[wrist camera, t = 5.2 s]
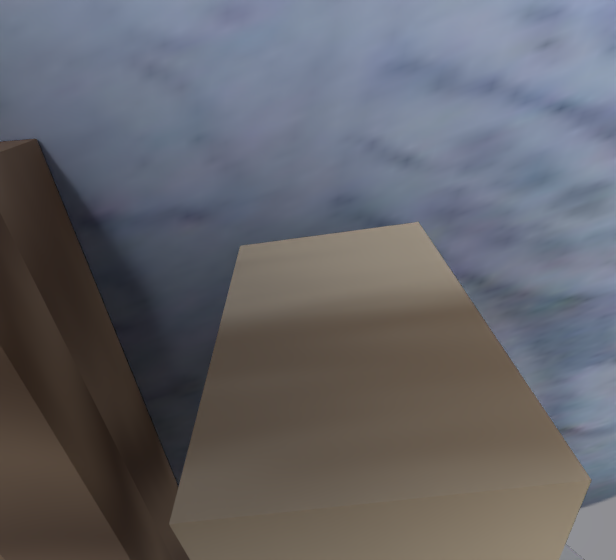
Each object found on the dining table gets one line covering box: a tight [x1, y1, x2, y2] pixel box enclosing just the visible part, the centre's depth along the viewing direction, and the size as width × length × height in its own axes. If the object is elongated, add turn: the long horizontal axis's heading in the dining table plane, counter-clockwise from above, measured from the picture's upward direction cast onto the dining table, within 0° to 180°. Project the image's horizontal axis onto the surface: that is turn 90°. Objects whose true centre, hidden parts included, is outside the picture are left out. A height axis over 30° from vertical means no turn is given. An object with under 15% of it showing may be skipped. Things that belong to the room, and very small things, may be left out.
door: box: [169, 222, 591, 560], centre depth 9 cm, size 12×4×6 cm, turn 7°
